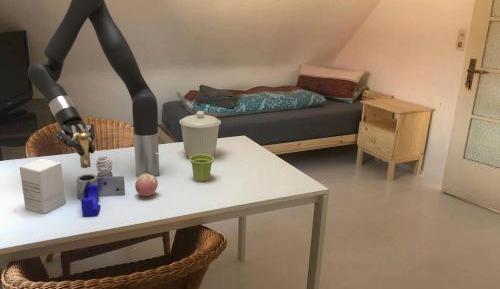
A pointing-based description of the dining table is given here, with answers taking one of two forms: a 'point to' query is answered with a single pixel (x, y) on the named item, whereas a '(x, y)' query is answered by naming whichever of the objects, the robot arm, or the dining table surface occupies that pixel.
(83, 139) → the hinge pin
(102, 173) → the light bulb
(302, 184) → the dining table surface
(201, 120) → the canister
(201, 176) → the plant pot
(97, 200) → the cable clip
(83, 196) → the hinge leaf lower
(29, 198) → the supplement box
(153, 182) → the apple
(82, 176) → the hinge leaf upper
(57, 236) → the dining table surface
